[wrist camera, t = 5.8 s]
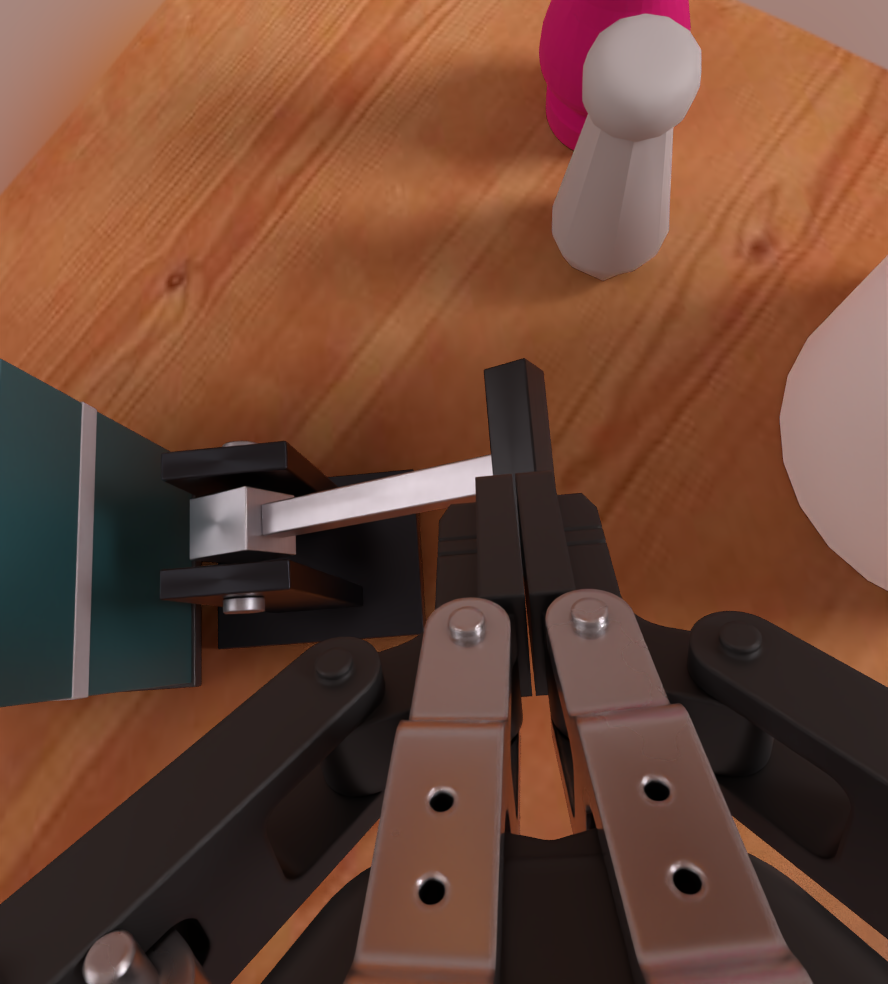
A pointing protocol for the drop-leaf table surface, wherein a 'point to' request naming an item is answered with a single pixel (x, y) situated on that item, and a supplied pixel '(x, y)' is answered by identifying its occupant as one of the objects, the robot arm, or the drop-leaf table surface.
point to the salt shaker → (626, 145)
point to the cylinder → (844, 428)
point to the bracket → (300, 559)
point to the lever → (380, 483)
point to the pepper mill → (584, 51)
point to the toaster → (86, 553)
